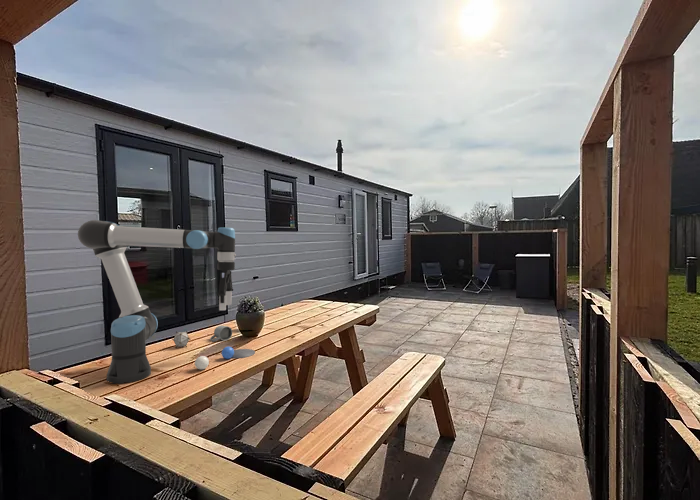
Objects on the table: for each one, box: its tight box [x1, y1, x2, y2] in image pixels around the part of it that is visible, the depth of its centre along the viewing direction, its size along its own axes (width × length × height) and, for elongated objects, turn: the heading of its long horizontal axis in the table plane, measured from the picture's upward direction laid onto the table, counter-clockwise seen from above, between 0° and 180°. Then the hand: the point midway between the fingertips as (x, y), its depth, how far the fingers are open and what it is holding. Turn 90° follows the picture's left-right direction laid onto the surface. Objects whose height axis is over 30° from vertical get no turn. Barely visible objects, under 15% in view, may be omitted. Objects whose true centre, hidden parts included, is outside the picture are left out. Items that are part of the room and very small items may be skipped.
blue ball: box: [221, 346, 235, 360], centre depth 165 cm, size 6×6×6 cm
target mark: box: [230, 348, 256, 359], centre depth 172 cm, size 14×14×1 cm
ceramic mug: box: [209, 325, 233, 343], centre depth 197 cm, size 11×8×8 cm
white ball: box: [194, 355, 210, 370], centre depth 152 cm, size 6×6×6 cm
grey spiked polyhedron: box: [171, 330, 191, 349], centre depth 184 cm, size 9×8×10 cm
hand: (225, 307), depth 165 cm, fingers open, 13 cm apart
